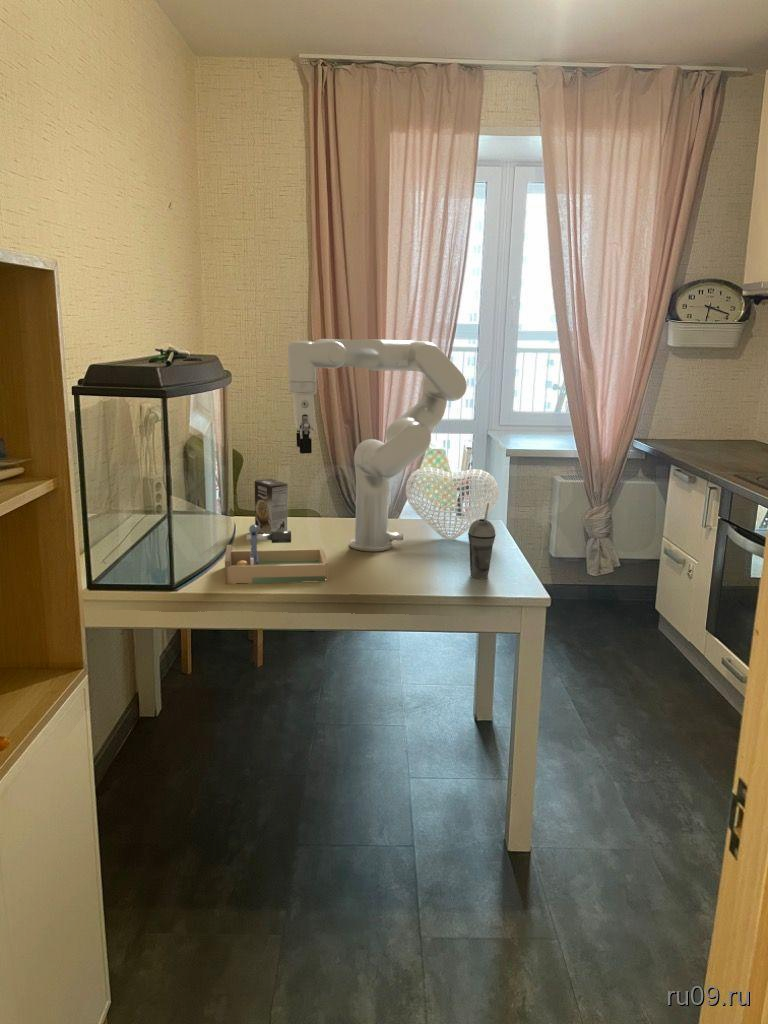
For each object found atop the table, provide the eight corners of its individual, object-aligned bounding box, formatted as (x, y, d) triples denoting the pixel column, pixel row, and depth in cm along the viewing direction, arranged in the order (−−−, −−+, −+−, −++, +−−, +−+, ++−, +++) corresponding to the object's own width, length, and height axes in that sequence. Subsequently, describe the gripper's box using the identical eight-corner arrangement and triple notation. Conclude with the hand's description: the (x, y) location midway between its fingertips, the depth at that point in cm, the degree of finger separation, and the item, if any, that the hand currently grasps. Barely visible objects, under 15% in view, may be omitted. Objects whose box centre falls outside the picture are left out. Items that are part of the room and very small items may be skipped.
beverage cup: (464, 571, 213) (468, 499, 208) (491, 572, 212) (496, 500, 207) (466, 580, 206) (470, 506, 201) (494, 581, 205) (499, 507, 200)
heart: (494, 535, 248) (498, 465, 242) (496, 549, 233) (501, 476, 227) (405, 530, 250) (408, 461, 245) (401, 544, 235) (404, 471, 230)
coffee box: (254, 531, 245) (253, 480, 241) (271, 527, 249) (270, 477, 245) (271, 537, 238) (270, 485, 234) (288, 534, 242) (288, 483, 238)
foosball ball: (250, 569, 207) (247, 557, 206) (250, 574, 204) (247, 561, 203) (237, 572, 207) (234, 560, 206) (237, 576, 203) (234, 564, 202)
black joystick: (290, 562, 210) (290, 520, 207) (291, 570, 203) (291, 528, 200) (246, 563, 208) (246, 521, 205) (246, 571, 201) (245, 528, 199)
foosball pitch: (323, 564, 215) (323, 543, 214) (327, 581, 202) (328, 559, 200) (227, 566, 211) (226, 544, 210) (225, 584, 198) (224, 561, 196)
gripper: (320, 391, 205) (321, 455, 210) (313, 384, 222) (314, 444, 226) (291, 391, 204) (292, 456, 208) (286, 384, 220) (288, 444, 225)
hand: (304, 449), depth 217 cm, fingers open, 9 cm apart
